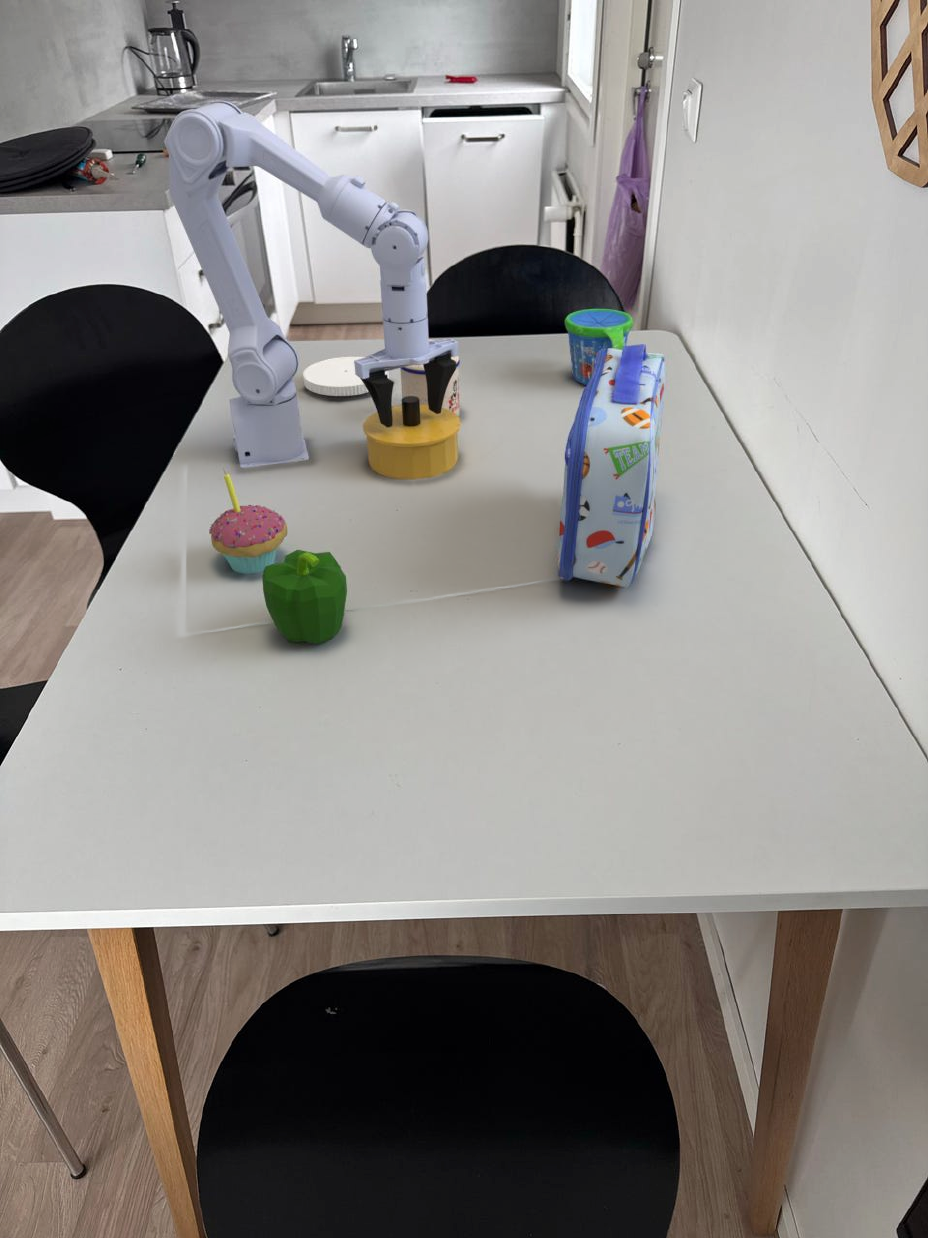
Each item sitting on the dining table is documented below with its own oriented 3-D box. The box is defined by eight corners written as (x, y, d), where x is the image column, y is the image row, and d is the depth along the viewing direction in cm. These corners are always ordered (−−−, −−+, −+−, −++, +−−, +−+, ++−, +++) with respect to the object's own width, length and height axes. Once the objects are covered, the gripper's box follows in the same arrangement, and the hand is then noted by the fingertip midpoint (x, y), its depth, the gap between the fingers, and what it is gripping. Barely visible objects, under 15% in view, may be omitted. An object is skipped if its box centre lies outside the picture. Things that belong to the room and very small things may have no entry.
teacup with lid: (463, 426, 141) (461, 349, 135) (402, 429, 141) (397, 352, 134) (457, 396, 151) (455, 323, 145) (400, 399, 151) (395, 326, 144)
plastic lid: (298, 377, 160) (296, 362, 159) (379, 366, 163) (377, 352, 162) (312, 406, 149) (310, 391, 148) (398, 395, 152) (397, 379, 151)
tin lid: (371, 456, 122) (368, 423, 120) (357, 417, 133) (354, 386, 130) (470, 444, 125) (470, 411, 122) (448, 407, 135) (447, 376, 133)
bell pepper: (264, 618, 101) (249, 536, 95) (339, 602, 103) (329, 521, 97) (279, 663, 94) (265, 578, 88) (359, 644, 96) (350, 560, 91)
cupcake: (201, 574, 108) (181, 479, 101) (248, 541, 114) (232, 449, 108) (261, 592, 105) (244, 495, 98) (306, 557, 111) (293, 463, 104)
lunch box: (576, 487, 124) (584, 319, 112) (656, 493, 122) (674, 322, 110) (548, 602, 102) (555, 408, 90) (646, 611, 100) (667, 414, 88)
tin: (377, 487, 125) (374, 450, 122) (363, 450, 135) (360, 414, 132) (466, 476, 128) (465, 439, 125) (446, 440, 137) (445, 405, 134)
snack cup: (550, 366, 162) (552, 306, 156) (609, 360, 163) (613, 300, 158) (580, 399, 149) (583, 335, 143) (643, 392, 151) (648, 329, 145)
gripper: (370, 335, 114) (378, 440, 122) (470, 313, 120) (472, 414, 128) (343, 321, 119) (352, 423, 127) (440, 300, 125) (444, 398, 133)
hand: (410, 417), depth 128 cm, fingers open, 7 cm apart
